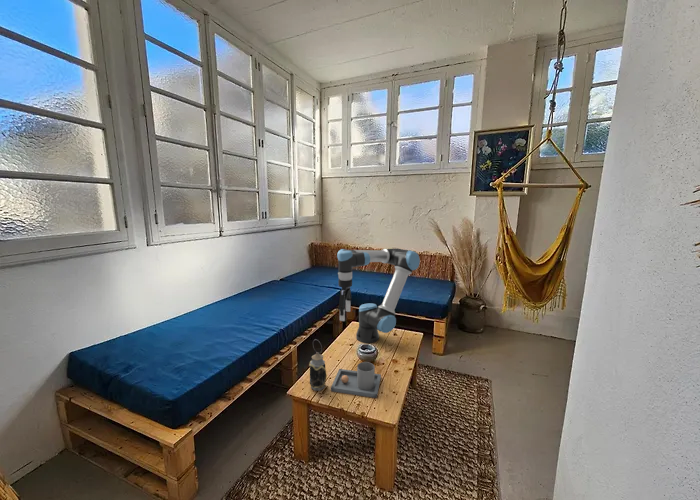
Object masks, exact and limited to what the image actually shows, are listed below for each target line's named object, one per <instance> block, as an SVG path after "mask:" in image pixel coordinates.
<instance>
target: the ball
mask: <svg viewBox="0 0 700 500" xmlns="http://www.w3.org/2000/svg"><path fill="white" fill-rule="evenodd" d="M341 380H342V382H343V383H347V382H348V380H349V378H348V376H347V375H343V376H342V378H341Z"/></svg>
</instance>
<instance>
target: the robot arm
mask: <svg viewBox="0 0 700 500" xmlns="http://www.w3.org/2000/svg"><path fill="white" fill-rule="evenodd" d="M336 257H337V260H338V261H337V262H338V272H337V275H338V285H337V286H338V287H339V288H341V290H339V301H338V302H339V303H338V308H337V310H339V322H340V321H341V322H345V321H346V312H348V313H350V312H351V302H352V301H353V298H352V290H351V287H352V286H353V268H357V267H364V266H367V265H370V263H382V264H389V265H393V266H394V273H393V274H392V275H393V276H392V278H391V280H390V283H389V286H388V288H387V290H386V293H385V295H384V298H383V300H382V303H381V304H380V305H378V306H377V304H376V303H372V302H371V303H364V304H363V303H362V304H361V305H359V308H358V327H357V332H356V337H355V338H356V340H357V341H359V342H361V343H364V344H372V343H376V342H378V341H379V339H380V334H379V332H381V333H385V334H387V333H390V332H392V331H393V330H394V329H395V326H396V325H397V324H396V323H397V318H396V311H395V309H396V307H397V304H398V302H399V299H400V297H401V294H402V292H403V290H404V288H405V287H404V286H405V285H406V282H407V279H408V276H409V275H412V273H413V271H416V270H417V269H418V268H419V266H420V263H421V261H420V260H421V259H420V255H419V253H418V252H416V251H414V250H412V249H411V250H410V249H409V250H408V249H402V248H397V247H396V248H383V249H381V250H379V249H378V250H375V249H373V250H372V249H347V248H341V249H340V250H338V252H337V255H336Z"/></svg>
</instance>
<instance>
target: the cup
mask: <svg viewBox="0 0 700 500" xmlns="http://www.w3.org/2000/svg"><path fill="white" fill-rule="evenodd" d="M356 369H357V370H356V371H357V386H358V388H359V389H360V390H363V391H369V390H372V389H373V388H374V374H376V373H375V372H376V371H375V369H376V367H375V365H374V364H373V363H371V362H368V361H362V362H360V363H358V364H357V367H356Z"/></svg>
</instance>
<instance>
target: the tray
mask: <svg viewBox="0 0 700 500" xmlns="http://www.w3.org/2000/svg"><path fill="white" fill-rule="evenodd" d="M343 375H347V376H348V378H349V380H348V382H347V383H343V382H342V380H341V378H342V376H343ZM381 377H382V375H381V373H375V374H374V388H373V389H372V390H369V391H363V390H360V389H359V388H358V386H357V370H352V369H344V368H339V369H338V371H337V373H336V375H335V378H334V379H333V382H332V385H331V386H330V392H335V393H341V394H349V395H355V396H358V397H359V396H360V397H366V398H373V399H377V398H378V393H379V388H380V384H381Z"/></svg>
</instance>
